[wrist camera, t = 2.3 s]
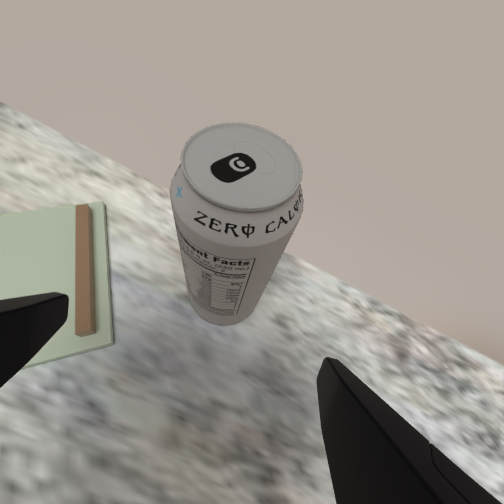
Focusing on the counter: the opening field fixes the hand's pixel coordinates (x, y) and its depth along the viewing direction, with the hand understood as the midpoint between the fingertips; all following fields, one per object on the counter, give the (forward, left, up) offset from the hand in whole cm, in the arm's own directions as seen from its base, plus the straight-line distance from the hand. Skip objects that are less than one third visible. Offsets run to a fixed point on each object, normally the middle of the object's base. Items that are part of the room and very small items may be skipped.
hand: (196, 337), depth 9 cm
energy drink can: (+3, -6, -13) cm, 14 cm away
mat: (+16, +5, -13) cm, 21 cm away
